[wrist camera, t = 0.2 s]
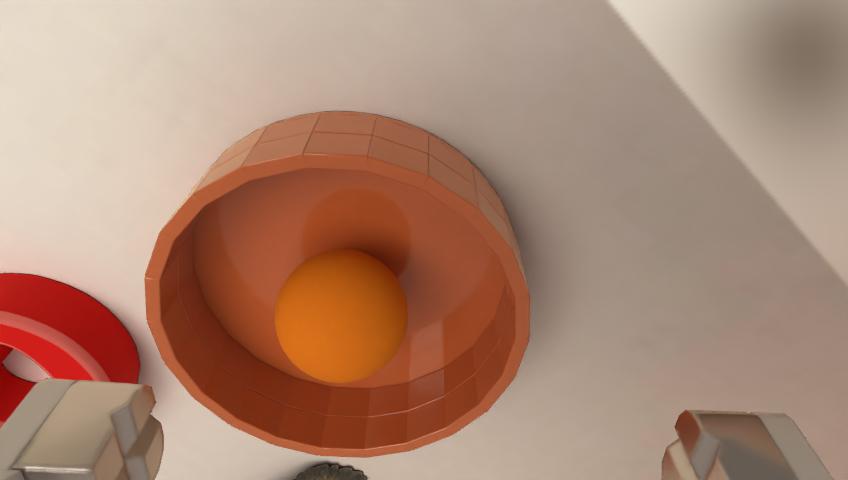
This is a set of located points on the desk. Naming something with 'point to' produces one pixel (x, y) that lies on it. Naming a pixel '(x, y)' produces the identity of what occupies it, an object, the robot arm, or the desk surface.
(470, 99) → the desk surface
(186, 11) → the desk surface
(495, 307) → the pot
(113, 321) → the decorative ornament
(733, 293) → the desk surface
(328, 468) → the eagle figurine
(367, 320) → the orange
